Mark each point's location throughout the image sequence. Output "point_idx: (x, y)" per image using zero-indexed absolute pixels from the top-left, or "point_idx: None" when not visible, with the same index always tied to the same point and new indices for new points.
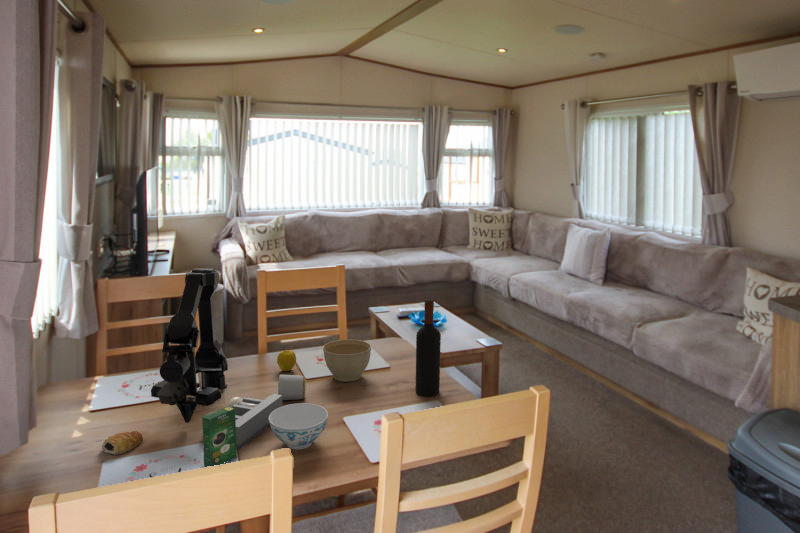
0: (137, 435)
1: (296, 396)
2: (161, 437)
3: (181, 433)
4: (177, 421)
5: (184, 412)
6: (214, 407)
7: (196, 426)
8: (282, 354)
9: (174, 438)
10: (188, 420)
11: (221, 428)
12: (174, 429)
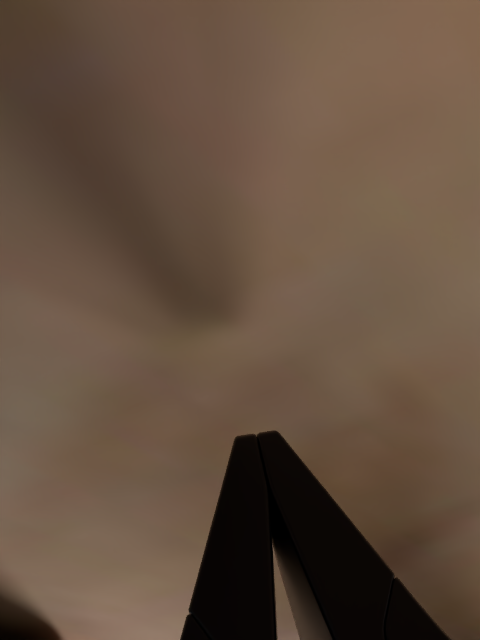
0: None
1: None
2: (417, 16)
3: (210, 263)
4: (450, 418)
5: (307, 590)
6: None
7: (184, 439)
8: None
9: (180, 93)
10: (230, 469)
11: None
12: (375, 296)
